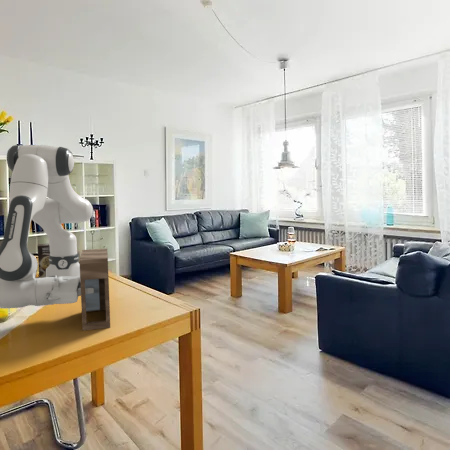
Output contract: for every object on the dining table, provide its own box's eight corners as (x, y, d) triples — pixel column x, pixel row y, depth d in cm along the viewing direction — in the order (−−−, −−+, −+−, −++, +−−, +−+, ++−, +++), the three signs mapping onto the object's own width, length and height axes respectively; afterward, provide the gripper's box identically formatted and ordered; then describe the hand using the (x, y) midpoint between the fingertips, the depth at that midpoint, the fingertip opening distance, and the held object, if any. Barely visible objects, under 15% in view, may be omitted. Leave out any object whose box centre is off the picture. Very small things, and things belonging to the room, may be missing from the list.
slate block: (84, 306, 123) (82, 271, 122) (100, 304, 125) (98, 270, 123) (83, 311, 118) (82, 275, 117) (99, 309, 120) (98, 274, 119)
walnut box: (85, 311, 130) (82, 249, 127) (109, 308, 132) (107, 248, 130) (82, 330, 112) (79, 260, 110) (110, 327, 115) (107, 258, 112)
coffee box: (38, 279, 174) (36, 245, 172) (39, 276, 179) (37, 243, 178) (59, 277, 177) (57, 244, 175) (59, 274, 183) (58, 242, 181)
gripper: (42, 290, 106) (92, 286, 111) (52, 274, 126) (94, 271, 130) (43, 311, 107) (93, 306, 112) (52, 291, 126) (95, 288, 131)
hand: (94, 287), depth 121 cm, fingers closed on slate block, 5 cm apart
